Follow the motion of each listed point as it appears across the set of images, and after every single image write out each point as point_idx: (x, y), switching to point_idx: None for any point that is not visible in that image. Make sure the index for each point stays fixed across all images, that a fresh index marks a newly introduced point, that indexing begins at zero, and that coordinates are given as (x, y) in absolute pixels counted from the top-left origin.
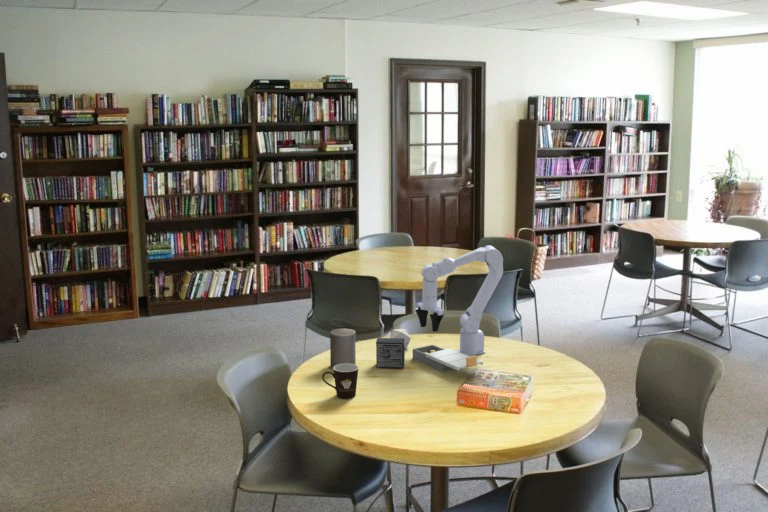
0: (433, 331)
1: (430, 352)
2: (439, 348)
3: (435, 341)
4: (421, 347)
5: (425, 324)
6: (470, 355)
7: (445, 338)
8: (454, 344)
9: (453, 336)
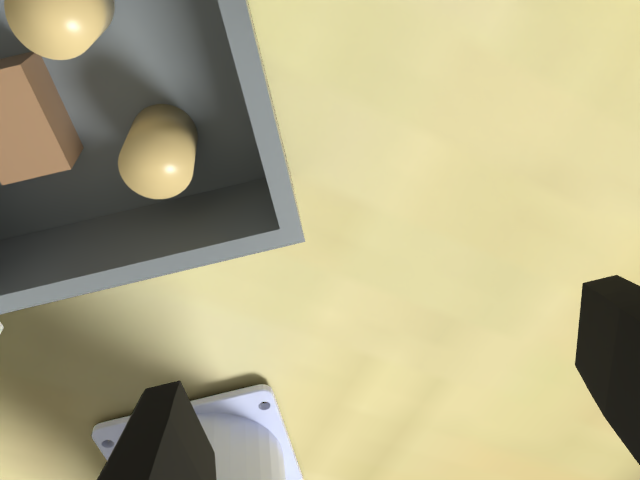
0: (155, 387)
1: (148, 124)
2: (125, 261)
3: None
4: (234, 31)
5: (600, 391)
6: (100, 448)
7: None
8: (452, 428)
9: (610, 467)
